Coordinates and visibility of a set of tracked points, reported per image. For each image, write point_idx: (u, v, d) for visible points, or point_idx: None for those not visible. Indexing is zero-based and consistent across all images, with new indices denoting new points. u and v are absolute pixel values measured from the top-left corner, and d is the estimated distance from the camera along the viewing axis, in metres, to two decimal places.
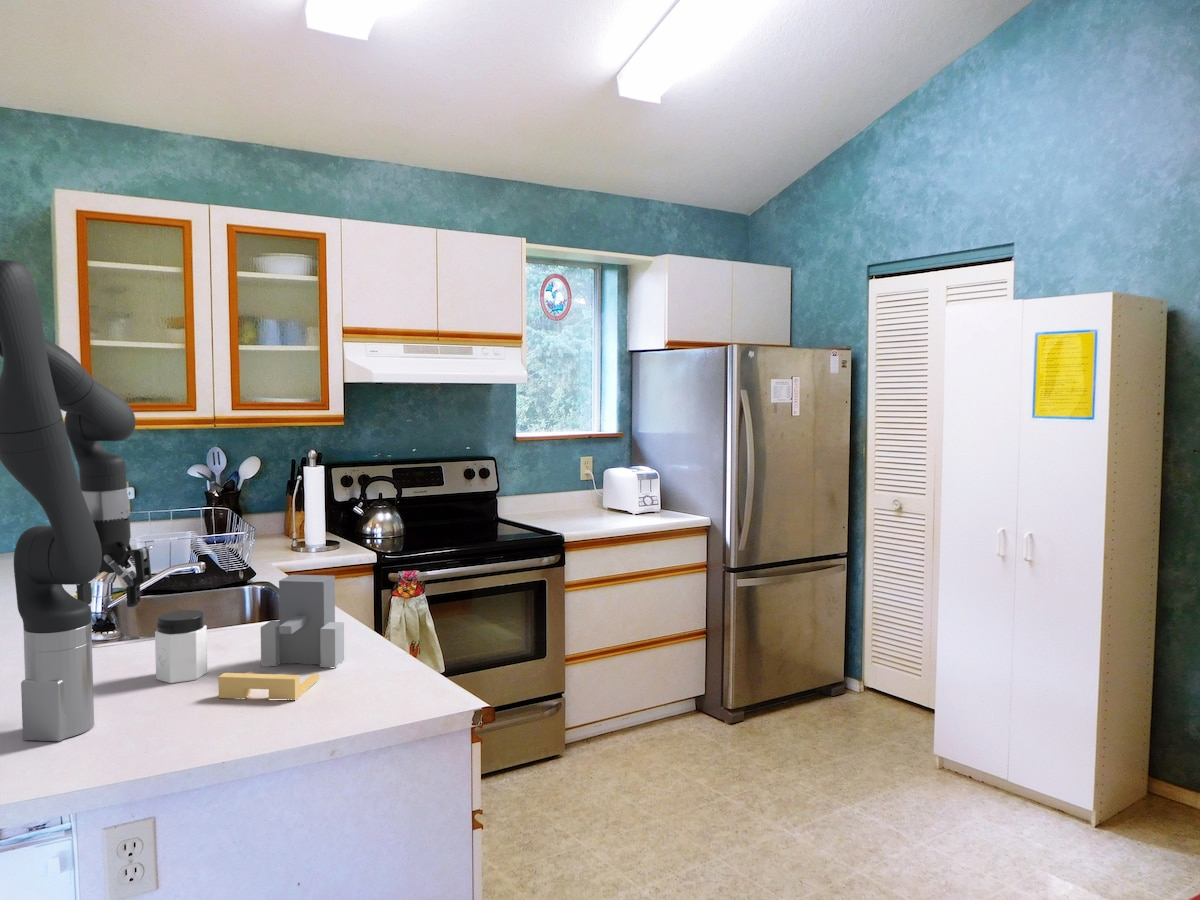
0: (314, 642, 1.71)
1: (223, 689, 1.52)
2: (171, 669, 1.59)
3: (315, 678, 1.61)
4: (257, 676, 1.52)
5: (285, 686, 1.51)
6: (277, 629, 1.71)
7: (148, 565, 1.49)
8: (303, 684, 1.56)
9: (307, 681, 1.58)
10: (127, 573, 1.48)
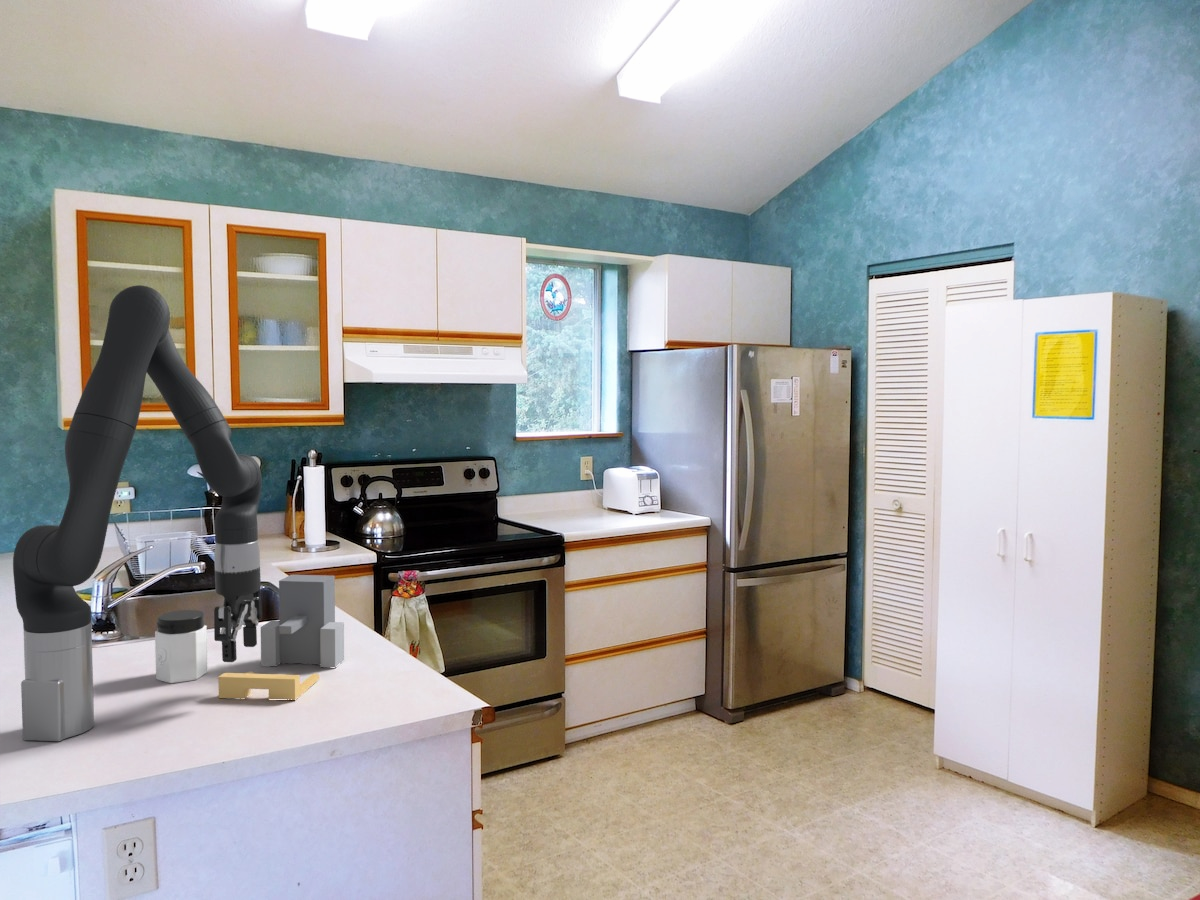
0: (314, 642, 1.71)
1: (223, 689, 1.52)
2: (171, 669, 1.59)
3: (315, 678, 1.61)
4: (257, 676, 1.52)
5: (285, 686, 1.51)
6: (277, 629, 1.71)
7: None
8: (303, 684, 1.56)
9: (307, 681, 1.58)
10: None
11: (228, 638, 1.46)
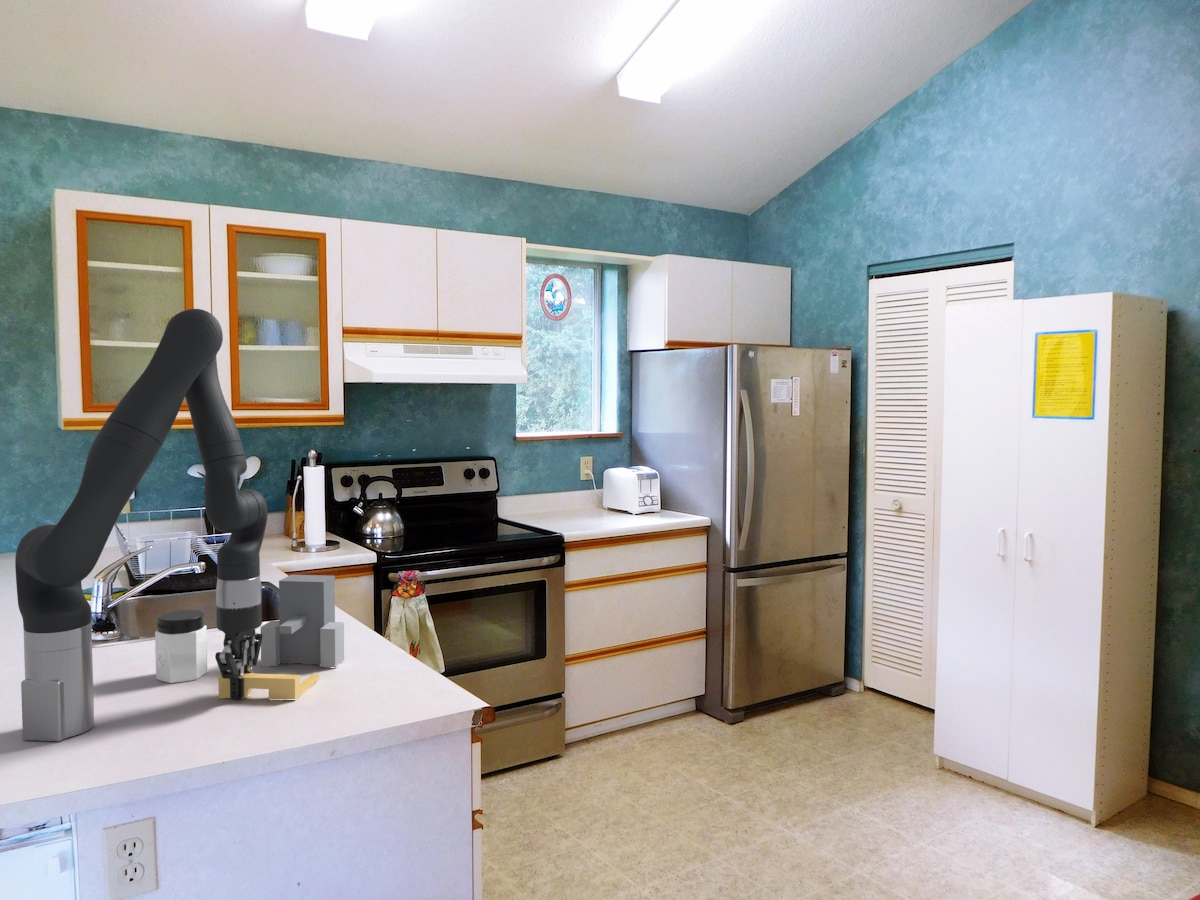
0: (314, 642, 1.71)
1: (223, 689, 1.52)
2: (171, 669, 1.59)
3: (315, 678, 1.61)
4: (257, 676, 1.52)
5: (285, 686, 1.51)
6: (277, 629, 1.71)
7: None
8: (303, 684, 1.56)
9: (307, 681, 1.58)
10: None
11: (236, 676, 1.49)
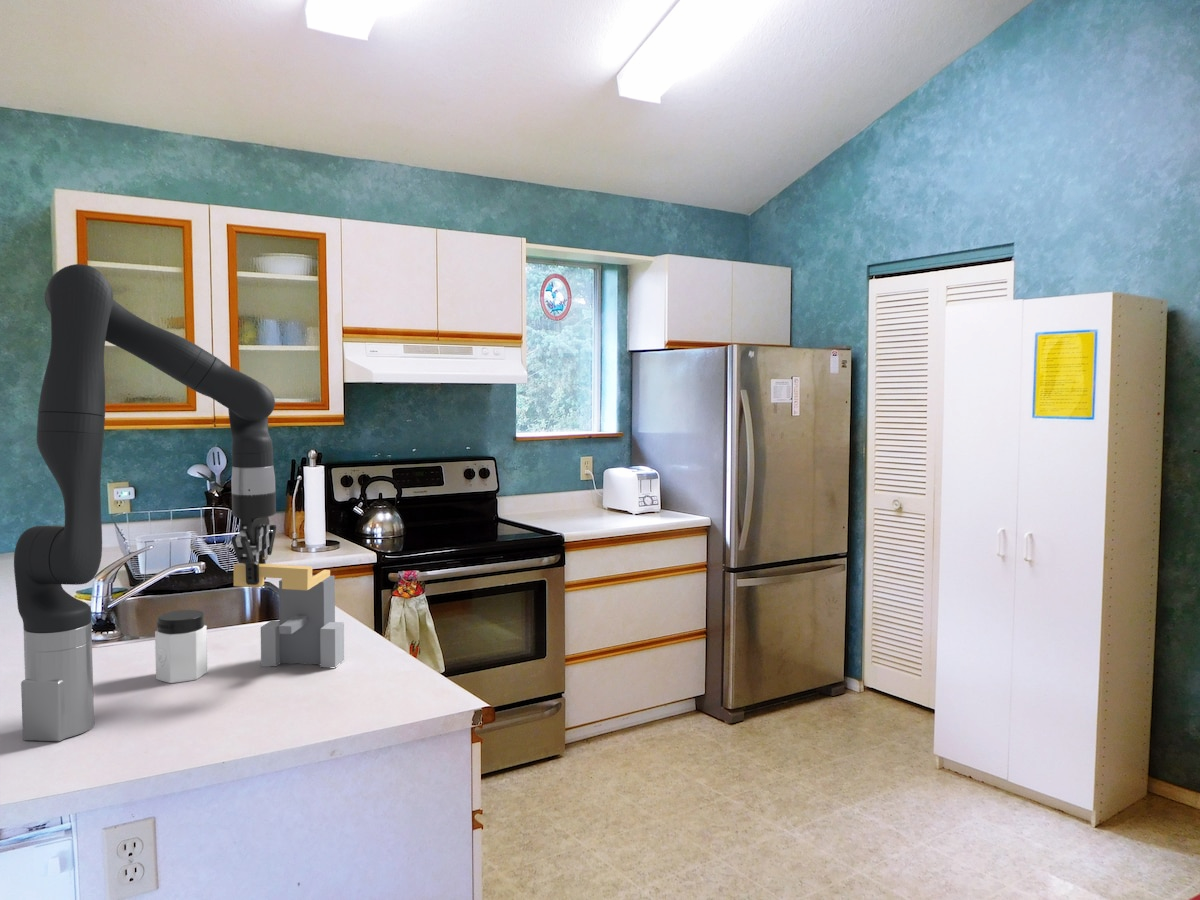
0: (314, 642, 1.71)
1: (238, 577, 1.57)
2: (171, 669, 1.59)
3: (326, 573, 1.66)
4: (271, 566, 1.57)
5: (298, 576, 1.56)
6: (277, 629, 1.71)
7: None
8: (315, 577, 1.61)
9: (319, 575, 1.63)
10: None
11: (251, 560, 1.54)
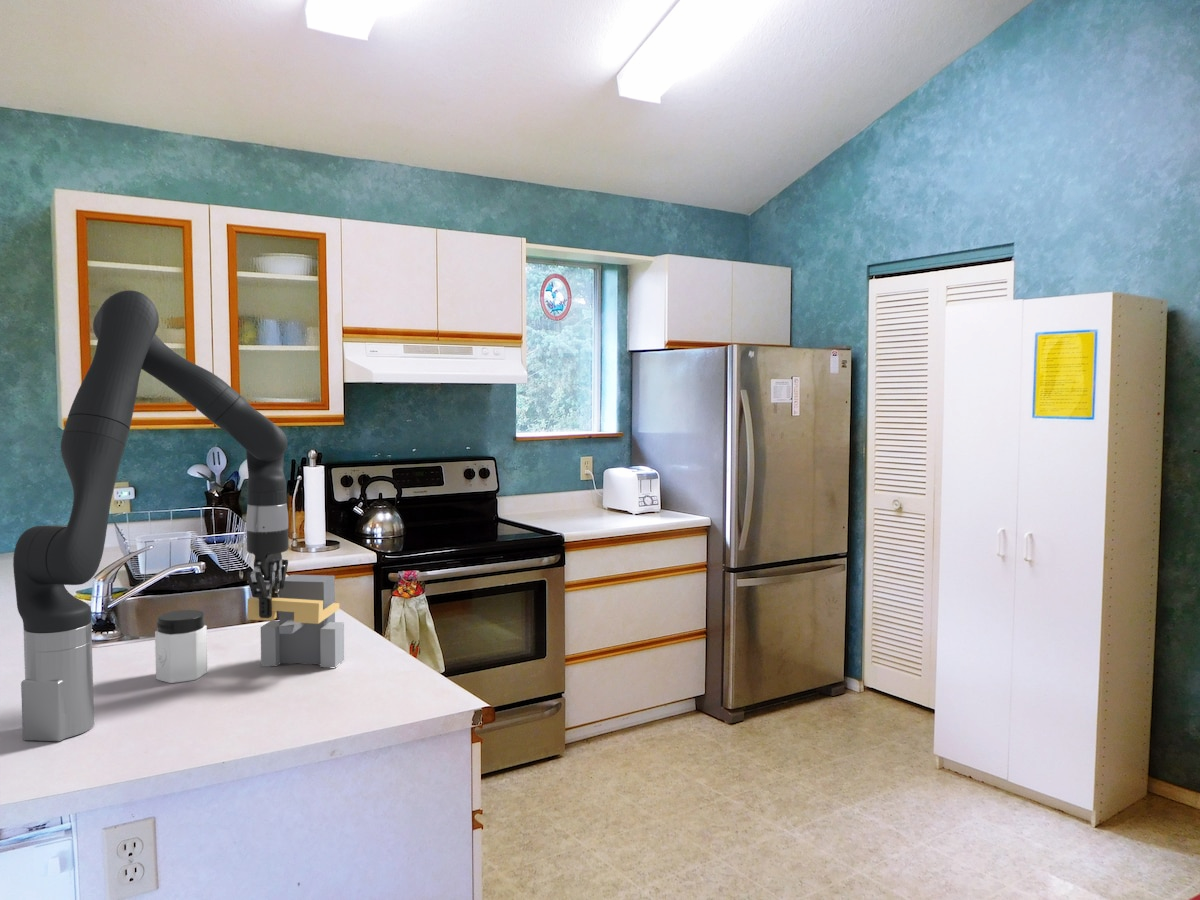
0: (314, 642, 1.71)
1: (251, 611, 1.63)
2: (171, 669, 1.59)
3: (336, 606, 1.72)
4: (283, 600, 1.64)
5: (309, 610, 1.63)
6: (277, 629, 1.71)
7: None
8: (326, 610, 1.68)
9: (329, 608, 1.70)
10: None
11: (265, 595, 1.60)
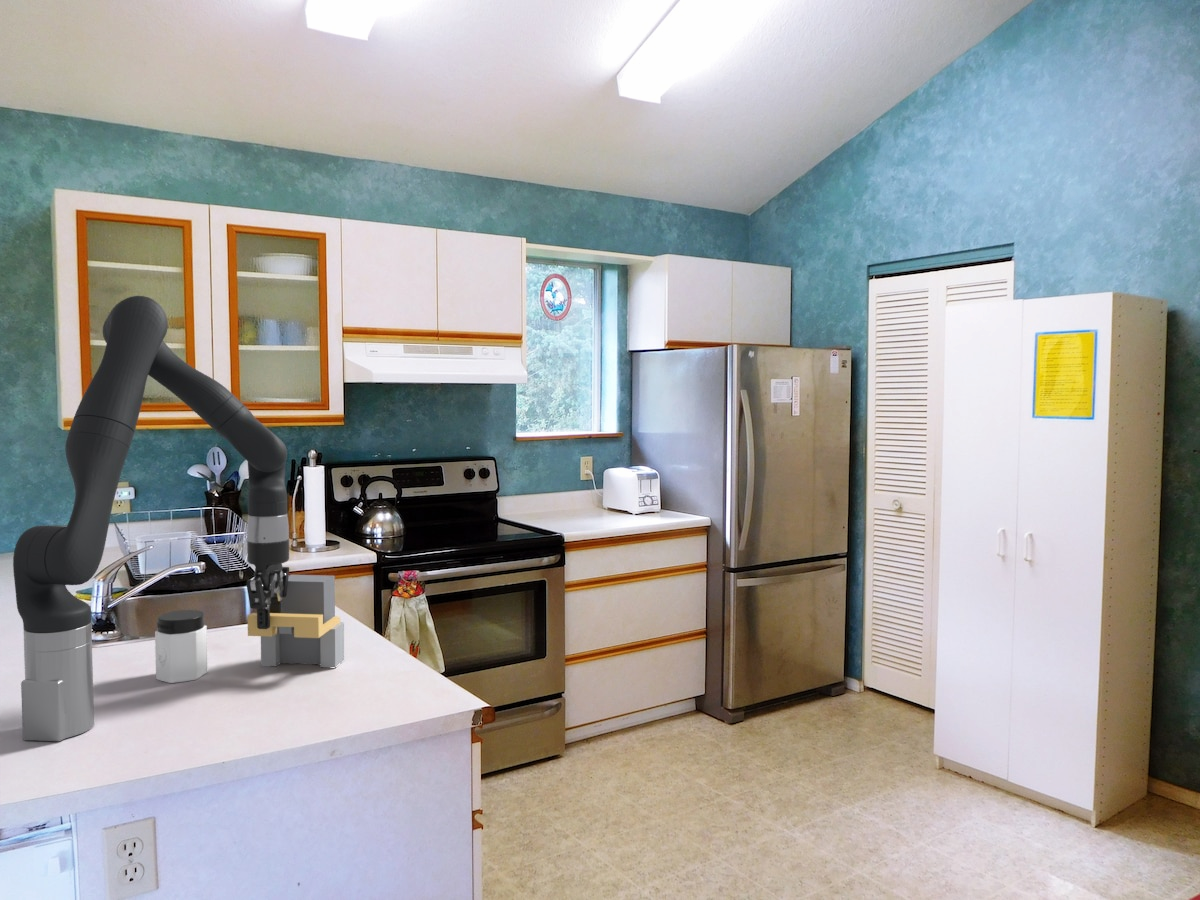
0: (314, 642, 1.71)
1: (252, 627, 1.63)
2: (171, 669, 1.59)
3: (336, 620, 1.72)
4: (283, 615, 1.64)
5: (309, 624, 1.63)
6: (277, 629, 1.71)
7: None
8: (326, 624, 1.68)
9: (329, 622, 1.69)
10: None
11: (263, 606, 1.59)
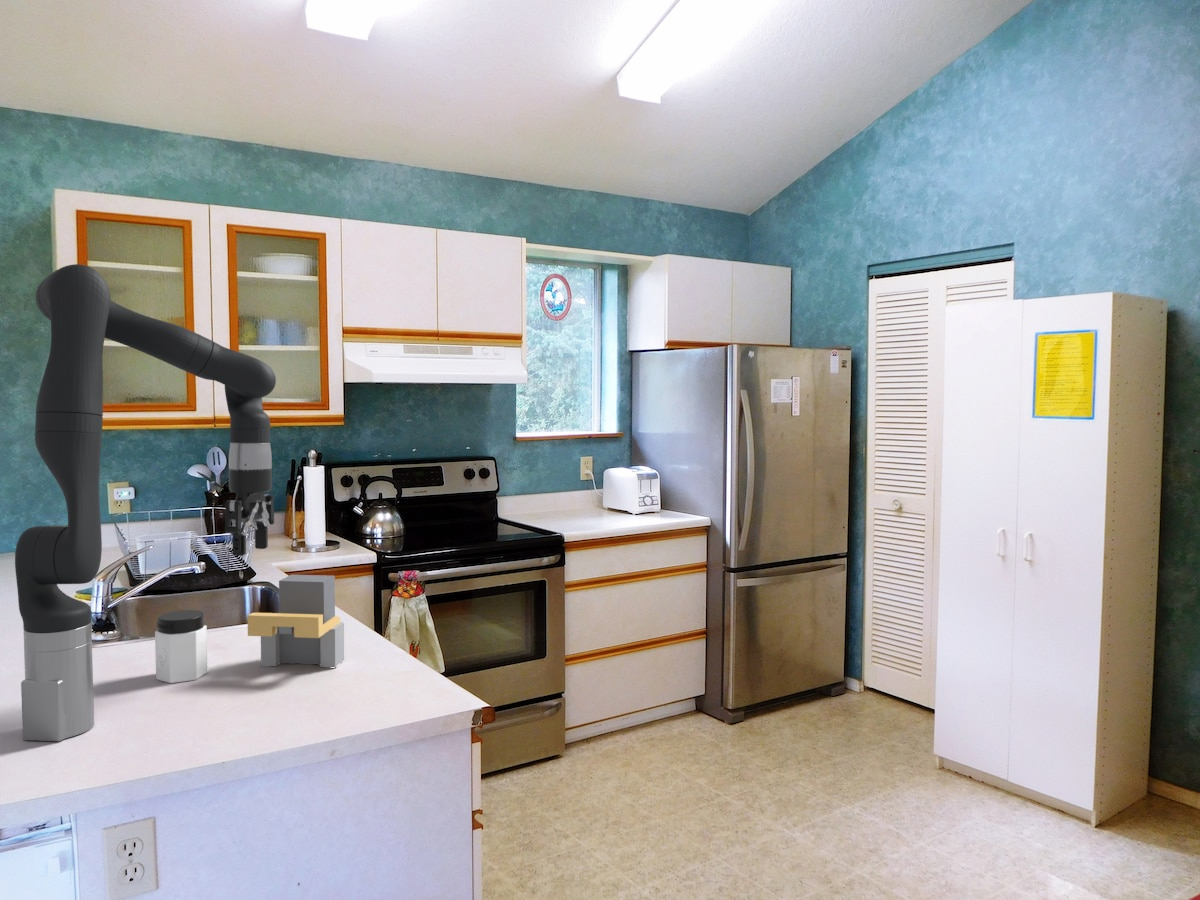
0: (314, 642, 1.71)
1: (252, 627, 1.63)
2: (171, 669, 1.59)
3: (336, 620, 1.72)
4: (283, 615, 1.64)
5: (309, 624, 1.63)
6: (277, 629, 1.71)
7: None
8: (326, 624, 1.68)
9: (329, 622, 1.69)
10: None
11: (238, 530, 1.54)
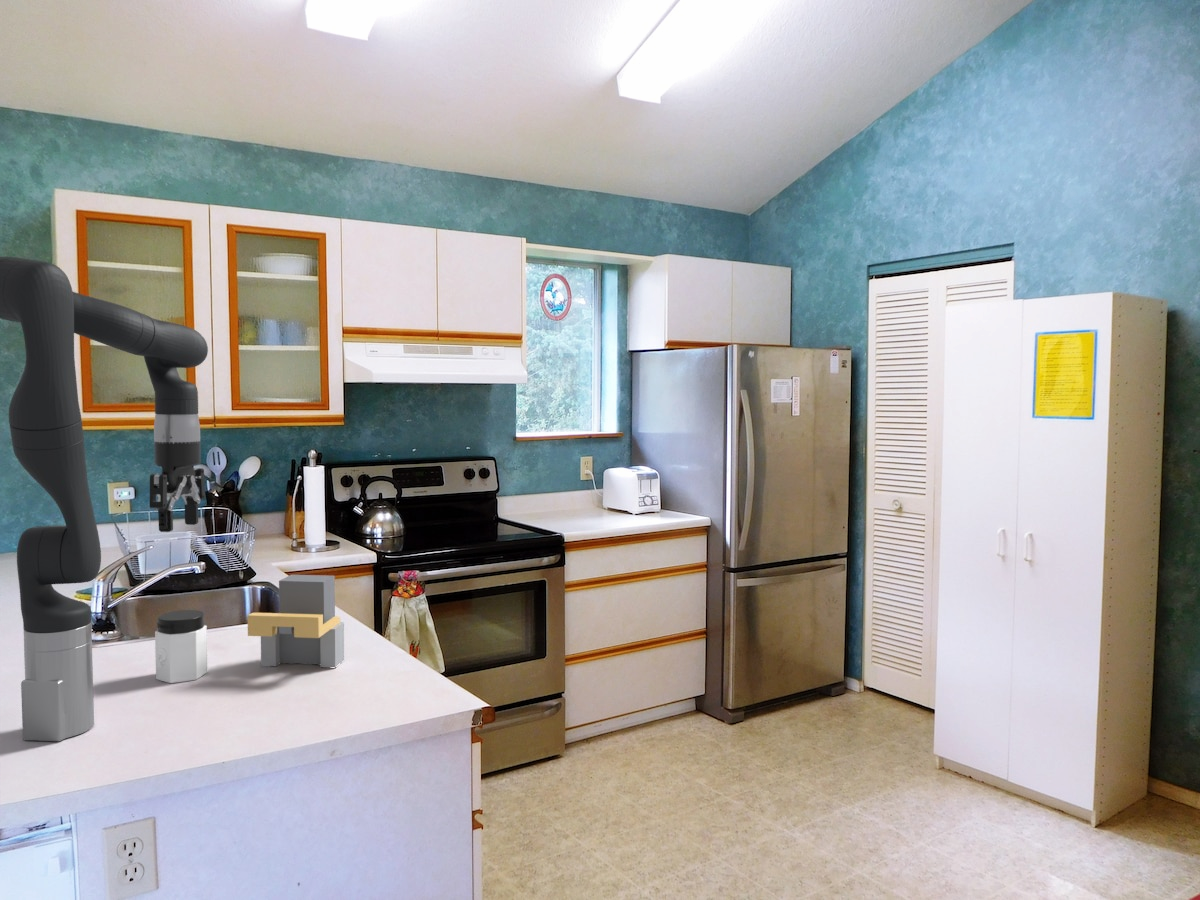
0: (314, 642, 1.71)
1: (252, 627, 1.63)
2: (171, 669, 1.59)
3: (336, 620, 1.72)
4: (283, 615, 1.64)
5: (309, 624, 1.63)
6: (277, 629, 1.71)
7: None
8: (326, 624, 1.68)
9: (329, 622, 1.69)
10: None
11: (163, 505, 1.47)
